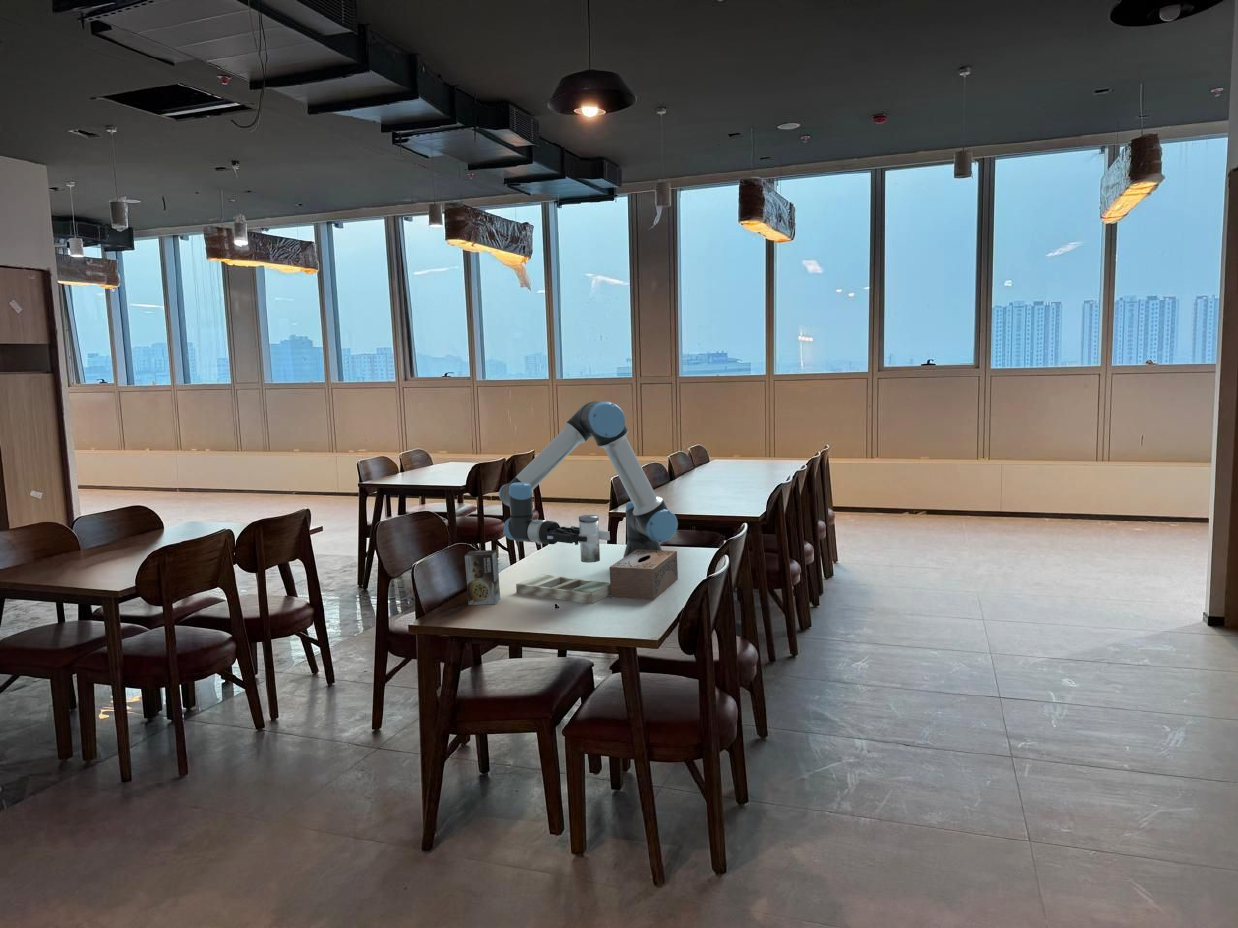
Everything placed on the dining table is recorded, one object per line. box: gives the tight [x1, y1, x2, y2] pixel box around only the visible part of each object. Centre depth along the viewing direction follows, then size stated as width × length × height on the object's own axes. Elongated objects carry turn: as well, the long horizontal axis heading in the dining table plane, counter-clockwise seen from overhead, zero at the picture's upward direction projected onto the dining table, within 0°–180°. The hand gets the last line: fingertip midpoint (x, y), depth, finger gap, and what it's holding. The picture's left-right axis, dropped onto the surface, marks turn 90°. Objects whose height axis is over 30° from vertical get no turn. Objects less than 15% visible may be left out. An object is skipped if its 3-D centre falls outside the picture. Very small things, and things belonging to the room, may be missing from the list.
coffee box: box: [464, 549, 501, 606], centre depth 258 cm, size 9×6×16 cm
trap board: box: [515, 574, 611, 605], centre depth 266 cm, size 30×14×3 cm, turn 56°
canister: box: [578, 514, 601, 564], centre depth 258 cm, size 6×6×14 cm
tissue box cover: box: [608, 549, 679, 601], centre depth 267 cm, size 26×14×10 cm, turn 160°
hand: (602, 537), depth 255 cm, fingers closed on canister, 6 cm apart
